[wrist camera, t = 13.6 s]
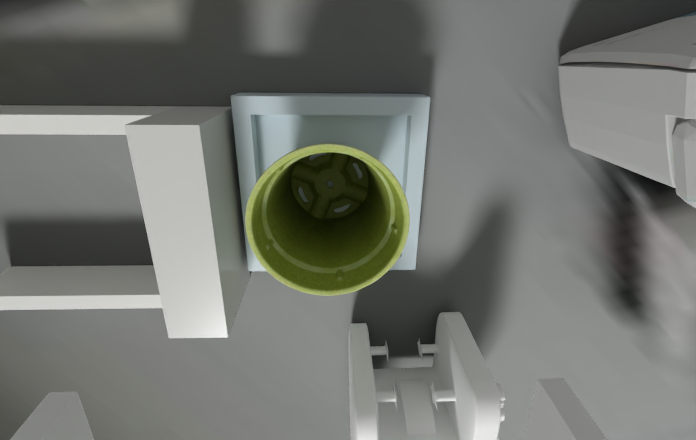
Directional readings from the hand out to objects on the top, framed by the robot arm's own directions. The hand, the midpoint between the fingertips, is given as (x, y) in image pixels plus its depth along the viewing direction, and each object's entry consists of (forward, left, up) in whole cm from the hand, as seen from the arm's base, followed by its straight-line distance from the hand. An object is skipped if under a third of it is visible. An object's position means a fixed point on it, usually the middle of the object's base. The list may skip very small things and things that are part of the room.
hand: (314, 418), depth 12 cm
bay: (-17, -1, -22) cm, 27 cm away
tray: (+1, +1, -22) cm, 22 cm away
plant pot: (0, +1, -21) cm, 21 cm away
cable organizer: (+7, -18, -22) cm, 30 cm away
